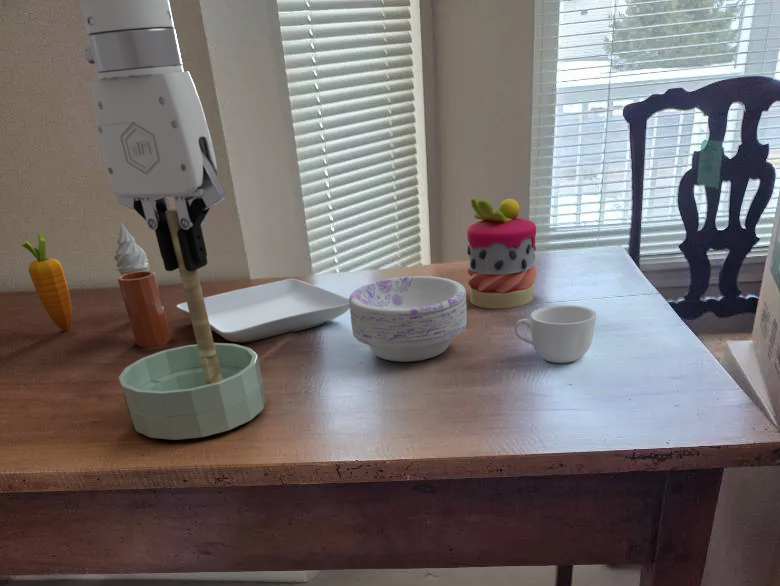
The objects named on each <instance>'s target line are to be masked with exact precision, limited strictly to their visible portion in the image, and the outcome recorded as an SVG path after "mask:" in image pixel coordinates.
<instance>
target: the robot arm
mask: <svg viewBox="0 0 780 586" xmlns="http://www.w3.org/2000/svg"><path fill="white" fill-rule="evenodd" d="M78 2H79V3H78V4H79V7H80V11H81V15H82V19H83V23H84V26H85V30H86V34H87V35H88V36H87V37H88V43H89V46H86V47H85V48H84V56H85V59H86V61H87V62H88V63H89V64H90V65H95V68H96V72H97V76H98V79H92V80H91V82H92V83H91V84H92V85H91V87H92V101H93V111H94V117H95V118H94V119H95V125H96V131H97V135H98V141H99V146H100V150H101V155H102V160H103V164H104V168H105V171H106V176H107V179H108V183H109V185H110V188H111V190H112V192H113V193H114V194H116V200H117V202H118V203H119V204H120V205H122V206H124V207H126V208H128V209H131V210H134V211H135V212H136V213H137V214H138V215H140V216H141V217H142V218H143V220H145V221H146V225H147V227H148V228H149V229H150V230H151V231H154V232H155V236H156V240H157V243H158V248H159V249H158V250H159V253H160V257H161V259H162V261H163V266H164V269H165V271H166V272H173V271H175V270H177V269H178V270H179V268H178V264H177V259H176V255H175V251H174V247H173V243H172V239H171V235H170V231H169V227H168V222H167V218H166V214H165V211H166V210H169V209H171V205H170V201H169V198H173V200H174V205H175V209H177V214H178V218H179V223H180V226H181V228H182V229H180V230H177V236H178V240H179V244H180V248H181V252H182V257H183V261H184V265H185V269H186V270H187V271H195V270H197V271H198V270H199V269H201V268H203V267H205V266H207V265H208V252H207V247H206V243H205V238H204V234H203V229H202V225H204V223H205V222H206V216H207V214H208V213H209V211H210V209H211V208H213V206H216V205H217V204H219V203H221V202H222V201H224V200H225V199H226V198H227V192H226V190H225V188H224V187H223V185H222V183H221V181H220V179H219V172H218V165H217V159H216V154H215V150H214V146H213V141H212V137H211V134H210V130H209V125H208V122H207V119H206V115H205V111H204V109H203V105H202V103H201V100H200V97H199V94H198V91H197V88H196V86H195V83H194V80H193V78H192V76H191V74H190V71H188V70H186V71H184V67H183V62H182V58H181V52H180V47H179V42H178V38H177V33H176V29H175V25H174V20H173V14H172V10H171V4H170V0H78ZM200 190H203V193H202V194H201V193H200Z"/></svg>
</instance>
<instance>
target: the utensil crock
mask: <svg viewBox="0 0 780 586" xmlns="http://www.w3.org/2000/svg"><path fill="white" fill-rule="evenodd" d="M117 281H118V285H119V288H120V293H121V295H122V299H123V302H124V305H125V309H126V313H127V317H128V319H129V323H130V327H131V330H132V334H133V338H134V341H135V344H136V345H137V346H138V347H142V348H151V347H157V346H161V345H165V344H167V343H169V342H170V341H171V340H172V335H171V331H170V327H169V323H168V320H167V315H166V311H165V307H164V303H163V299H162V296H161V291H160V288H159V285H158V280H157V276H156V273H155V271H151V270H149V271H138V272H132V273H128V274H124V275H122V276H121V275H120V276H118V277H117Z"/></svg>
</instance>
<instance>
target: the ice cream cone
mask: <svg viewBox="0 0 780 586" xmlns="http://www.w3.org/2000/svg"><path fill="white" fill-rule="evenodd" d="M116 242H117V244H118V247H117V249H116V251H115V256H114V260H115V261H116V267H117V271H118V272H119V274H120V276H122V275H124V274H128V273H132V272H138V271H150V266H151V265H150V263H149V259H148V258H147V253H146V251H144V249H143V248H142V247H140V246H139V245H138V244H137V243H136V239H135V237H134V236H132V234H130V232H129V231H128V230H127V228H126V227H125V225H124V223H123V221H120V223H119V235H118V238H117V241H116Z"/></svg>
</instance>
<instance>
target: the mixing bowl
mask: <svg viewBox="0 0 780 586" xmlns="http://www.w3.org/2000/svg"><path fill="white" fill-rule="evenodd" d="M214 346H215V350H216V353H217V357H218V361H219V366H220V370H221V374H222V379H223V380H221V381H219V382H216V383H212V384H208V385H206V382H205V378H204V374H203V369H202V365H201V361H200V358H202V357H201V356H200V354H199V350H198V346H197V343H196V344H188V345H182V346H179V347H173V348H169V349H165V350H161V351H157V352H155V353H153V354H149V355H147V356H144V357H142V358H140V359H138V360H136V361H134V362H133V363H131V364H129V365H127V366H126V367H125V368H124V369H123V371H122V372H121V373H120V374H119V376H118V378H117V379H118V381H119V385H120V388H121V391H122V394H123V398H124V401H125V404H126V408H127V410H128V415H129V417H130V420H131V423H132V426H133V428H134V430H135V432H136V433H139V434H141V435H143V436H146V437H147V438H151V439H160V440H161V439H162V440H171V441H177V440H179V441H180V440H187V439H189V440H190V439H199V438H205V437H209V436H212V435H217V434H220V433H224V432H228V431H231V430H233V429H235V428H237V427H240V426H241V425H244V424H246V423H248V422H250V421H252V420H253V419H254V418H256V416H258V415H259V414H260V413H261V412H262V411H263V410H264V409H265V405H266V401H267V400H266V399H267V397H266V391H265V386H264V381H263V377H262V370H261V365H260V362H259V355H258V354H257V353H256V352H255V351H254V350H253V349H252V348H251V347H249V346H248V347H247V346H244V345H240V344H237V343H229V342H228V343H225V342H214Z"/></svg>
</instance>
